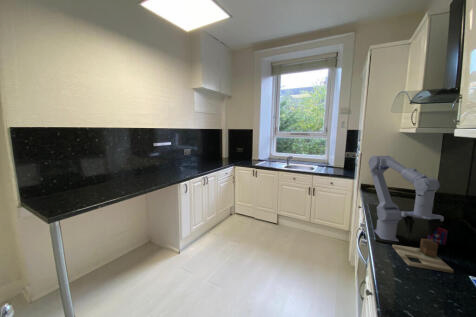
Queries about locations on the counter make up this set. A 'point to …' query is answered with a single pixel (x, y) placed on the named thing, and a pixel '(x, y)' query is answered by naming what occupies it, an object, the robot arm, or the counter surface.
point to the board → (421, 259)
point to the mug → (439, 236)
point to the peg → (428, 247)
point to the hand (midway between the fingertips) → (419, 233)
